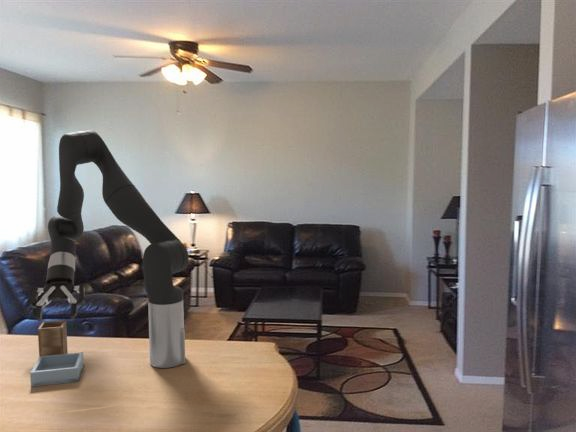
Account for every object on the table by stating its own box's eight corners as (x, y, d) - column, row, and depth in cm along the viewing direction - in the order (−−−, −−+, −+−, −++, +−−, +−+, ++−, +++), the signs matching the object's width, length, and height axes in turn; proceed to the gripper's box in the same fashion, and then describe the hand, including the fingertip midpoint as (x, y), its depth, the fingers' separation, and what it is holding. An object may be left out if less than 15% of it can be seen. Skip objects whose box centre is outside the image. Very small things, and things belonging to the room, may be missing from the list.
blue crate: (83, 364, 132) (83, 352, 132) (78, 381, 122) (77, 367, 121) (40, 369, 129) (39, 356, 129) (31, 386, 119) (30, 372, 119)
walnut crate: (67, 354, 139) (66, 320, 138) (64, 363, 133) (62, 327, 132) (44, 357, 137) (42, 322, 136) (39, 365, 132) (37, 329, 131)
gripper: (32, 264, 144) (25, 314, 134) (85, 262, 148) (81, 310, 138) (37, 278, 150) (30, 327, 140) (87, 275, 154) (84, 322, 144)
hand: (55, 318), depth 139 cm, fingers open, 8 cm apart
